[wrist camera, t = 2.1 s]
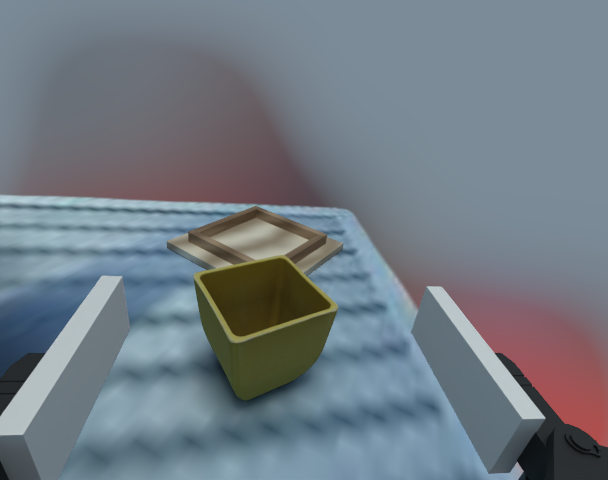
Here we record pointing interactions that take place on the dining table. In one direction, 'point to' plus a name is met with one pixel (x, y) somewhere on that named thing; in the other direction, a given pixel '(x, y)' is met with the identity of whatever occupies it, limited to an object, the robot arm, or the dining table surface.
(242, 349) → the flower pot
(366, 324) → the dining table surface
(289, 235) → the birch tray
